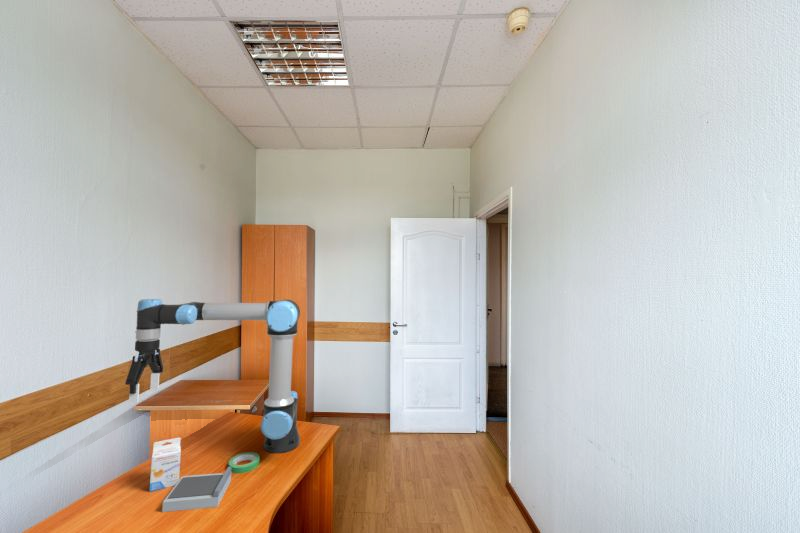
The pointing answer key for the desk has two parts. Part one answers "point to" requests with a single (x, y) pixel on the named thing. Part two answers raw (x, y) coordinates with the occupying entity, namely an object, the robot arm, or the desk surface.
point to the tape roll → (247, 467)
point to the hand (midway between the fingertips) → (144, 395)
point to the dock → (197, 492)
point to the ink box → (165, 464)
